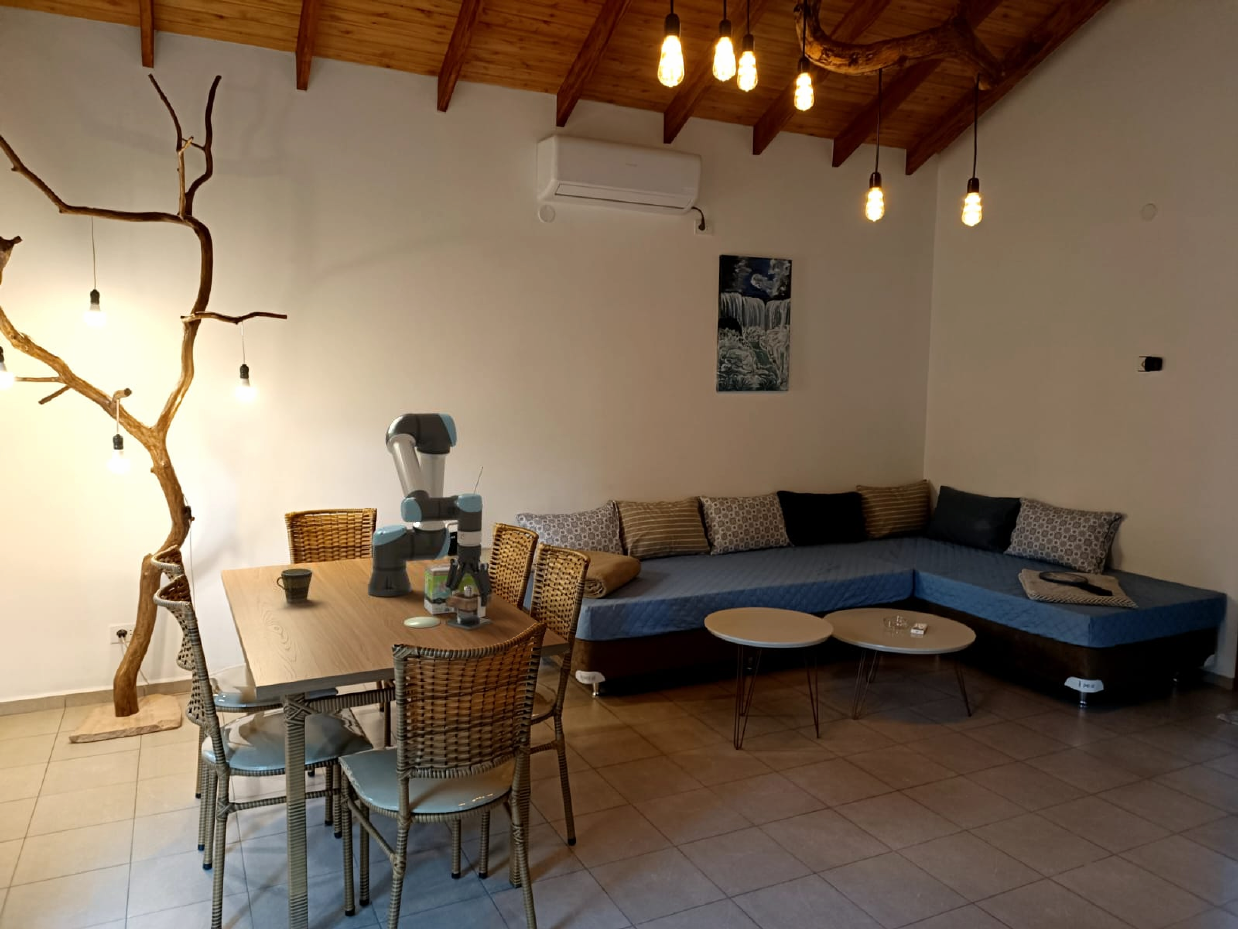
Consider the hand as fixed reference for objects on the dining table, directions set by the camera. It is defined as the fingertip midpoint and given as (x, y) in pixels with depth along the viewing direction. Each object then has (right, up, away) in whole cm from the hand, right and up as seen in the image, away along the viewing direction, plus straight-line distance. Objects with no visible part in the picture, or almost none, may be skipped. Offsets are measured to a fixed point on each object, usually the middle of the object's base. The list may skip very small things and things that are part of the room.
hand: (468, 613), depth 271 cm
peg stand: (0, -3, 0) cm, 3 cm away
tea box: (-9, -2, +16) cm, 19 cm away
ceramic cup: (-63, 0, +20) cm, 66 cm away
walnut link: (0, +3, 0) cm, 3 cm away
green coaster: (-14, -3, 0) cm, 15 cm away
